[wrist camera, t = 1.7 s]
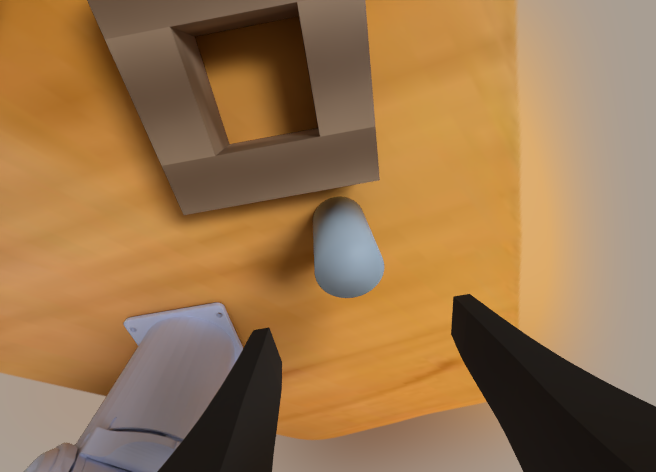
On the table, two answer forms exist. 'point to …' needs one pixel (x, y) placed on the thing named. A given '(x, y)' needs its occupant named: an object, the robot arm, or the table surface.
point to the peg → (345, 249)
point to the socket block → (202, 112)
